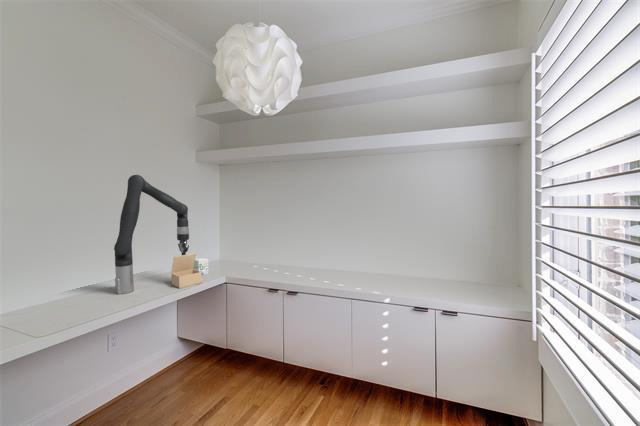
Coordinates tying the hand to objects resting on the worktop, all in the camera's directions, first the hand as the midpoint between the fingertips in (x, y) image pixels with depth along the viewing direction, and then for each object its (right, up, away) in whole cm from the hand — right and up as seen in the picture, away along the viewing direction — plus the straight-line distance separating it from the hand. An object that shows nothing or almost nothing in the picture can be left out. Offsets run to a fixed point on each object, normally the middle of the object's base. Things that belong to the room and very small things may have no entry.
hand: (183, 257), depth 203 cm
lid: (0, -4, 0) cm, 4 cm away
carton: (+3, -18, -1) cm, 18 cm away
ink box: (+1, -17, +26) cm, 31 cm away
